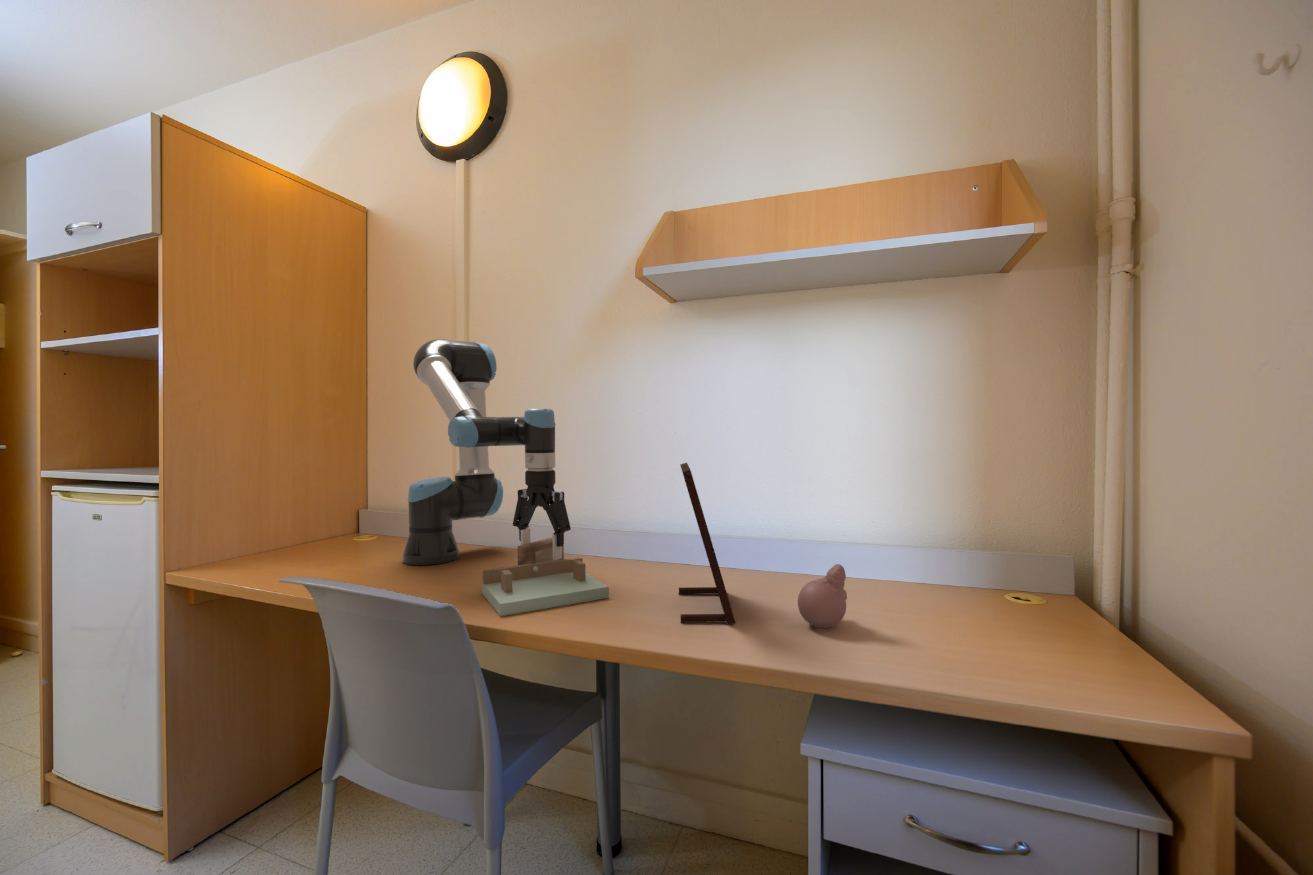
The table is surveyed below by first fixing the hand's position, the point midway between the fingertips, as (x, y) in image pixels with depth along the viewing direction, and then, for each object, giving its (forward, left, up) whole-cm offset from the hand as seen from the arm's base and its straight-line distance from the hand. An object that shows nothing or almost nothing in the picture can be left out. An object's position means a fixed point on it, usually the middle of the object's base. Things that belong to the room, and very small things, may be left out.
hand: (541, 556), depth 142 cm
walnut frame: (0, 0, -5) cm, 5 cm away
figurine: (+60, +37, -6) cm, 71 cm away
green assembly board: (+15, -4, -5) cm, 16 cm away
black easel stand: (+40, +23, -6) cm, 46 cm away
